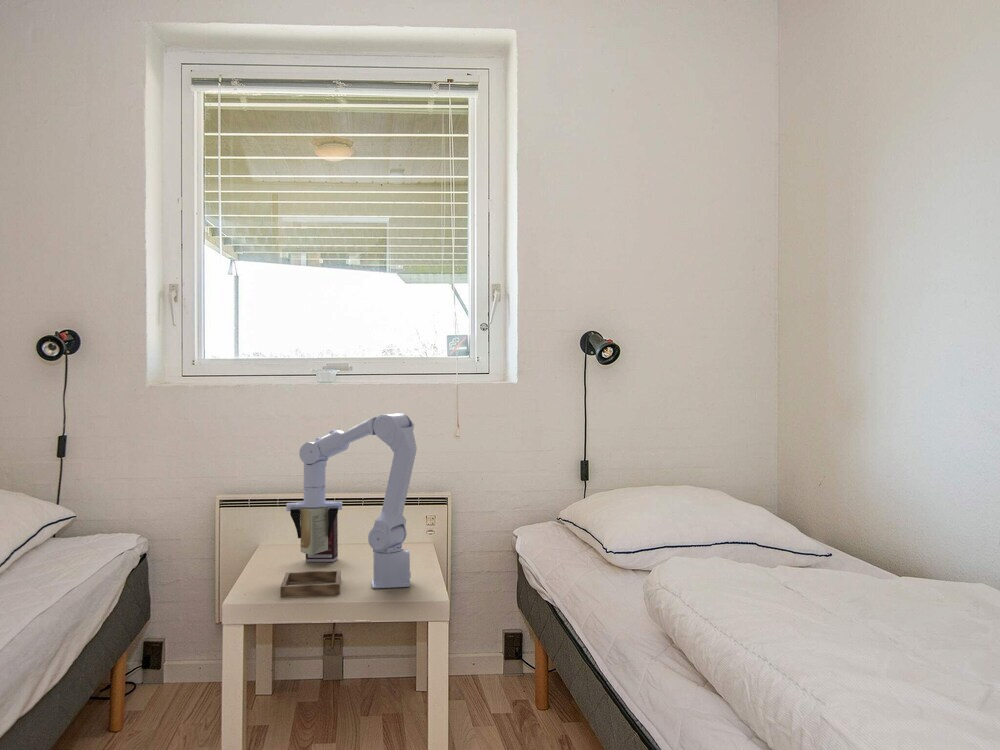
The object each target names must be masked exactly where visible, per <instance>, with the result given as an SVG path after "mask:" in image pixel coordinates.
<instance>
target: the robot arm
mask: <svg viewBox="0 0 1000 750" xmlns="http://www.w3.org/2000/svg"><path fill="white" fill-rule="evenodd" d="M414 427H415V424H414V422H413V421H412V420H411V418H410V417H409V415H407V414H406V413H403V412H398V413H397V412H396V413H391V414H390V413H389V414H387V413H386V414H385V413H383V414H382V413H381V414H379V415H378V416H372V417H370V418H368V419H366V420H364V421H363V422H361V423H359V424H357V425H355V426H354V427H351V428H350V429H348V430H346V431H343V430H339V429H332V430H331V429H330V431H329V432H328V433H329V434H327V435H324V436H322V437H321V436H319V437H316V438H315V441H312V442H311V441H306V442H305V443H304V444H302V445H301V447H300V448H299V452H298V453H299V458H300V461H302V463H303V501H299V502H297V501H296V502H287V503H286V507H285V508H286V509H285V511H286V512H290V513H289V514H290V516H291V519H292V521H293V523H294V526H295V529H296V535H297V539H301V508H317V507H324V508H326V507H328V510H329V512H328V514H329V526H328V537H331V530H332V526H333V523H334V520H335V518H336V516H337V517H338V513H339V511H340V510H341V511H342V510H343V501H331V500H330V501H327V500H326V474H327V473H326V471H327V470H326V467H327V464H328V463H327V462H328V460H329V458H332V457H334V456H337V455H339V454H340V453H342V452H345V451H347V450H348V449H349V447H350V444H351V443H353V442H356V441H357V440H360V439H363V438H365V437H368V436H370V435H371V436H376V437H377V438H379V439H380V440H381V441H382V442H384V443H385V444H386V445H387V446H388V447H389V448H390V449H391V450H392V452H393V458H392V461H391V466H390V470H389V471H390V472H389V475H388V480H387V485H386V490H385V494H384V499H383V504H382V509H381V512H380V514H379V515H378V516H377V518H376V519H375V520H374V524H373V527H372V528H371V529H370V530H369V532H368V536H367V537H368V538H367V539H368V544H369V546H370V548H372V549H371V550H372V552H373V564H372V565H373V573H372V574H373V577H372V579H371V588H372V589H390V588H391V589H392V588H409V587H411V570H410V567H411V565H410V563H411V561H410V560H411V557H410V556H411V555H410V549H408V548H407V549H406V548H403V543H404V542H405V541H406V538H407V528H406V523H407V519H406V518H405V516H404V510H405V504H406V500H407V496H408V491H409V486H410V482H411V477H412V472H413V470H414V469H413V468H414V464H415V459H416V454H417V445H416V444H417V443H416V439H415V434H414V429H415V428H414Z"/></svg>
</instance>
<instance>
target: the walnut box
mask: <svg viewBox="0 0 1000 750" xmlns="http://www.w3.org/2000/svg"><path fill="white" fill-rule="evenodd" d="M341 577H342V570H341V569H336V570H335V569H333V570H313V571H310V570H309V571H290V572H289V571H288V572H287V571H286V572H285V574H284V577H283V579H282V582H281V585H280V598H288V597H289V598H291V597H310V596H312V597H313V596H331V595H334V596H335V595H340V594H341V593H340V591H341V580H342V578H341ZM317 581H321V582H331V583H317ZM290 582H299V583H311V584H291V583H290ZM333 582H334V583H333ZM312 583H313V584H312ZM314 583H315V584H314ZM290 584H291V585H290Z"/></svg>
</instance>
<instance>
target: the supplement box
mask: <svg viewBox="0 0 1000 750" xmlns="http://www.w3.org/2000/svg"><path fill="white" fill-rule="evenodd" d="M328 512H329V510H328ZM338 520H339V519H338V515H337V516H336V518H335V520H334V523H333V526H332V530H331V537H328V550H326V551H323V552H320V553H316V554H313V555H308V554H305V563H306V562H307V563H310V562H312V563H323V562H324V563H328V562H330V563H334V562H336V560H338V558H339V555H338V554H339V549H338V548H339V544H338V543H339V541H338V536H339V534H338V533H339V531H338V530H339V529H338V527H339V526H338ZM328 526H329V514H328Z"/></svg>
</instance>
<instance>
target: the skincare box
mask: <svg viewBox="0 0 1000 750" xmlns="http://www.w3.org/2000/svg"><path fill="white" fill-rule="evenodd" d="M300 524H301V538H300V553H301V554H305V555H306V554H308V555H313V554H316V553H320V552H323V551H326V550H328V507H326V508H324V507H317V508H301V523H300Z"/></svg>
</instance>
